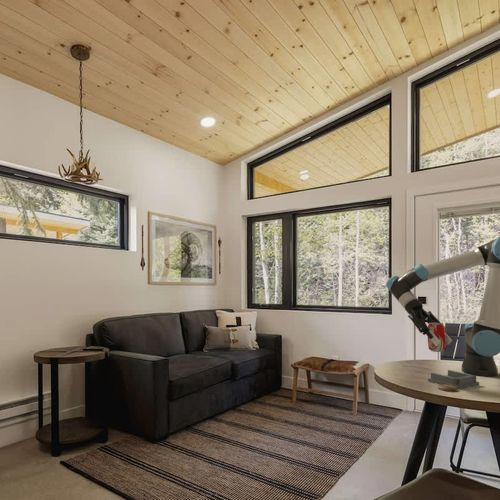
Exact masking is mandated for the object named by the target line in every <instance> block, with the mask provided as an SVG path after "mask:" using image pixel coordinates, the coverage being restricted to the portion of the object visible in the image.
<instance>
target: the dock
mask: <svg viewBox="0 0 500 500" xmlns="http://www.w3.org/2000/svg"><path fill="white" fill-rule="evenodd" d="M427 381H428V382H429V383H434V384H437V385H440V384H446V385H452V386H456V387H457V390H462V389H466V388H472V387H478V386H479V385H480V381H477V375H473V374H468V373H465V372H462V371H461V372H460V371H457V370H451V369H448V370H447V374H446V375H445V374H441V373H436V372H430V377H428V379H427Z"/></svg>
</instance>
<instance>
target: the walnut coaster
mask: <svg viewBox="0 0 500 500" xmlns="http://www.w3.org/2000/svg"><path fill="white" fill-rule="evenodd" d="M437 389H438V390H441V391H442V392H453V393H454V392H457V391H458V389H457V387H456V386H452V385H446V384H437Z"/></svg>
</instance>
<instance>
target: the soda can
mask: <svg viewBox="0 0 500 500" xmlns="http://www.w3.org/2000/svg"><path fill="white" fill-rule="evenodd" d="M427 327H428V329H429V330H431V331H432V332H433V333H434V334H435V336H436V337H437V338H438V339H439V340H440V342H441V343H440V344H439V345H438V346H435V344H434V343H433V342H432V341H431V340H430V339H429V337H428V336H427V347H428V349H429V350H430V352H435V353H443V352H445V351H446V350H447V349H446V348H447V344H446V337H445V333H446V328H445V325H444V323H443V322H440V323H435V322H433V323H429V324H428V325H427Z"/></svg>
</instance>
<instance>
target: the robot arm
mask: <svg viewBox="0 0 500 500" xmlns="http://www.w3.org/2000/svg"><path fill="white" fill-rule="evenodd" d="M479 266H482V267H485V266H488V267H489V269H488V274H487V279H486V283H485V289H484V291H483V292H484V294H483V298H482V300H481V301H482V302H481V307H480V310H479V311H480V312H479V316H478V319H477V320H475V321H474V322H473V323H465V325H464V329H463V331H464V348H465V349H464V352H465V353H464V358H463V361H462V364H461V372H462V373H466V374H470V375H474V376H482V377H496V376H498V375H499V370H498V367H497V364H496V362H495V359H494V356H497V355H498V354H500V236H499V237H497V238H495V239H492V240H491V241H488V242H487V243H485V244H483V245H479V246H476V247H475V248H474V250H471V251H467V252H464V253H461V254H457V255H455V256H451V257H448V258H445V259H442V260H438V261H435V262H432V263H428V264H426V265H423V264H421V263H419V264H417V265H415V266H414V267H412V268H411V269H409V270H407V272H406V273H405V274H404V275H402V276H400V277H399V276H398V275H394V276H392V277H389V278H388V279H387V281H386V283H385V286H386V288H387V289H388V290H389V293H391V294H392V296H393V297H394V298H395V299H396V300H397V302H398V303H400V305H401V307H402V308H403V309H404V310H405V311H406V313H407V317H408V318H409V319H410V321H412V323H413V325H414V326H415V327H416V329H417V330H418V332H419V333H421V334H422V335H423V336H425V335H426V336H427V338H428V337H429V339H430V340H431V341H432V342H433V343H434V344H435V346H438V345H439V344H440V343H441V342H440V340H439V339H438V338H437V337H436V336H435V334H434V333H433V332H432V331H431V330H429V329H428V325H429V323H433V322H435V323H441V321H440V320H439V319H438V318H437V317H436V316H435V315H434V314H433V313H432V311H430V310H428V311H426V310H425V308H423V306H424V305H423V303H422V302H421V301H420V300H419V299H418V297H417V296H416V295H415V294H414V293H413V292H412V291H411V290H413V289H414V288H415V287H417V286H418V285H420V284H421V283H424V282H427V281H430V280H433V279H437V278H440V277H444V276H447V275H451V274H454V273H457V272H461V271H464V270H468V269H470V268H474V267H479ZM427 324H428V325H427ZM445 337H446V346H449V345H450V344H451V343H452V342H453V339H452V338H451V337H450V336H449V335H448V333H446V332H445Z"/></svg>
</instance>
